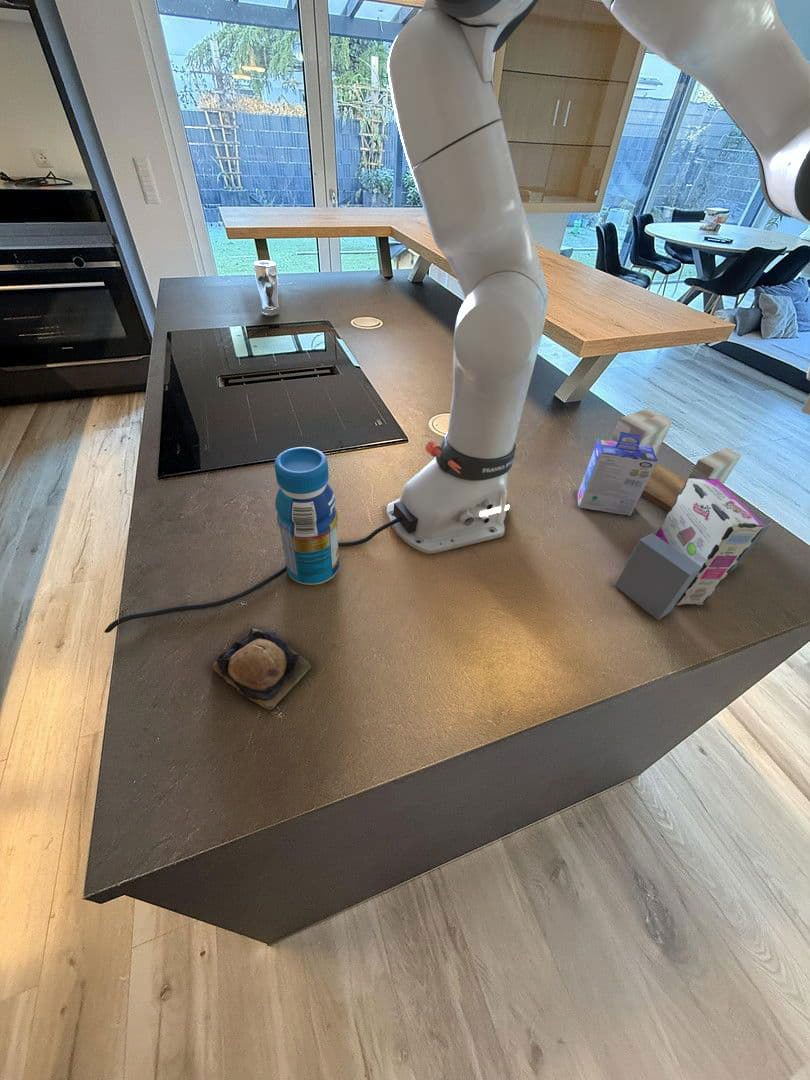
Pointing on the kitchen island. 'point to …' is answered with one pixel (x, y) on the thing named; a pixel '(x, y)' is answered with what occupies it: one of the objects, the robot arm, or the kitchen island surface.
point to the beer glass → (267, 284)
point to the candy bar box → (708, 533)
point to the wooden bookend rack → (662, 481)
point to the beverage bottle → (307, 515)
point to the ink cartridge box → (616, 475)
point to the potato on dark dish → (261, 667)
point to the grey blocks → (663, 573)
